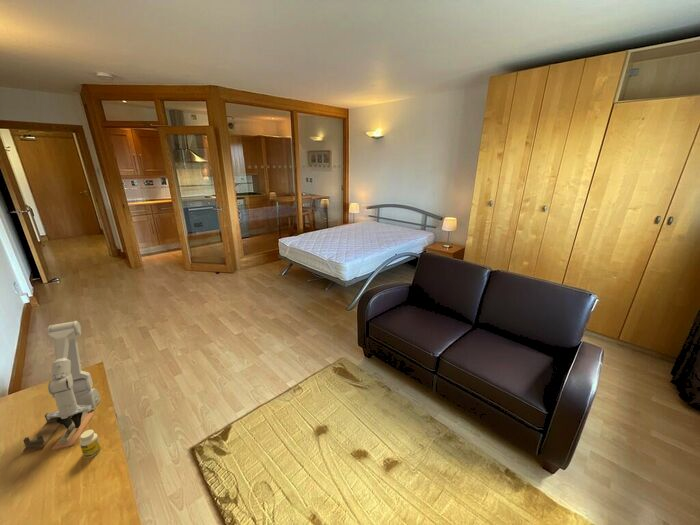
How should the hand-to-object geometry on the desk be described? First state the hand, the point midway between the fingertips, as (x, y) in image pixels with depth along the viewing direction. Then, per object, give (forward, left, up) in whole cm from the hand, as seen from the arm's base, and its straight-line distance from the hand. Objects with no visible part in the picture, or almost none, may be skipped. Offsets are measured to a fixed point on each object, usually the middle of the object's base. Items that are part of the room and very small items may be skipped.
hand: (74, 427), depth 125 cm
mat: (0, 0, -2) cm, 2 cm away
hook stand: (+11, -1, -2) cm, 11 cm away
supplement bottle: (-12, +15, -2) cm, 20 cm away
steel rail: (0, 0, 0) cm, 0 cm away
